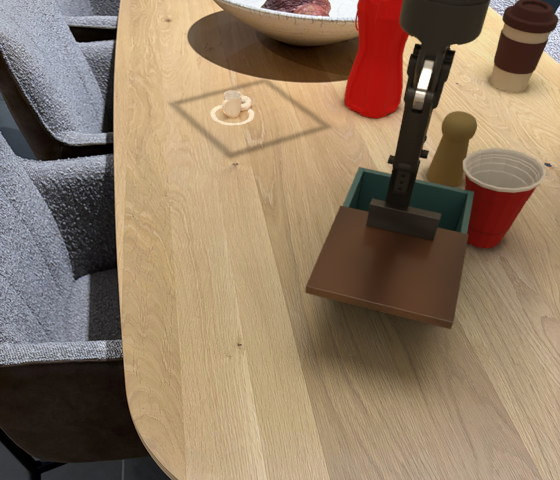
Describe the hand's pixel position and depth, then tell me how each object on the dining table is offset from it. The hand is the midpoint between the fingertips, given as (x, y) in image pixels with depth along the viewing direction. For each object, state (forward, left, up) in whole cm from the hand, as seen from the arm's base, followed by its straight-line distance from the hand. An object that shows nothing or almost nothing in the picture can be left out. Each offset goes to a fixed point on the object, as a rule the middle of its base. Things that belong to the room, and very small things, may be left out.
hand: (395, 211), depth 70 cm
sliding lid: (-1, +7, -2) cm, 7 cm away
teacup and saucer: (+31, -38, -13) cm, 50 cm away
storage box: (-1, -5, -13) cm, 14 cm away
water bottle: (+12, -51, -13) cm, 54 cm away
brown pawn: (-5, -31, -13) cm, 34 cm away
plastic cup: (-12, -17, -13) cm, 25 cm away
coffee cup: (-13, -71, -13) cm, 73 cm away
